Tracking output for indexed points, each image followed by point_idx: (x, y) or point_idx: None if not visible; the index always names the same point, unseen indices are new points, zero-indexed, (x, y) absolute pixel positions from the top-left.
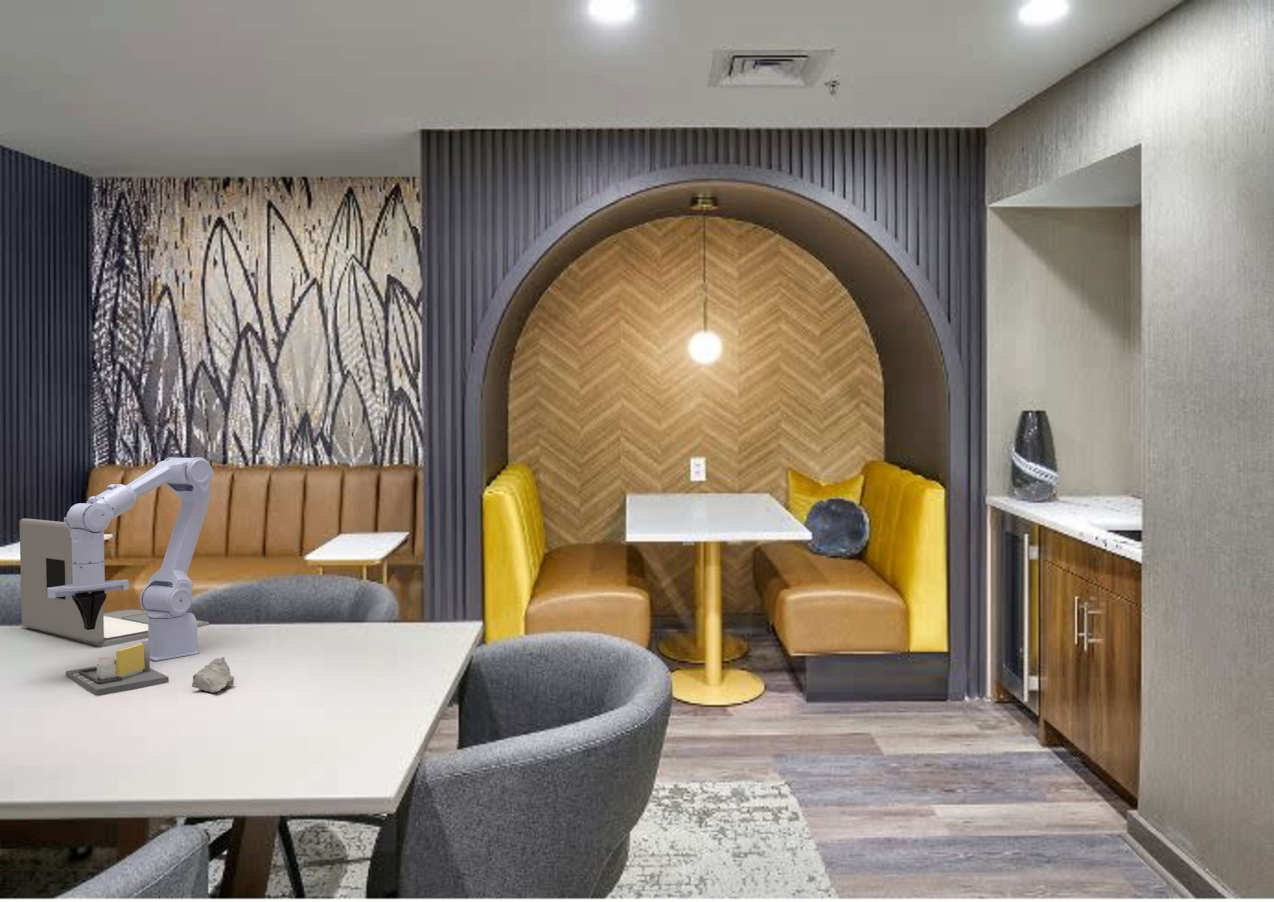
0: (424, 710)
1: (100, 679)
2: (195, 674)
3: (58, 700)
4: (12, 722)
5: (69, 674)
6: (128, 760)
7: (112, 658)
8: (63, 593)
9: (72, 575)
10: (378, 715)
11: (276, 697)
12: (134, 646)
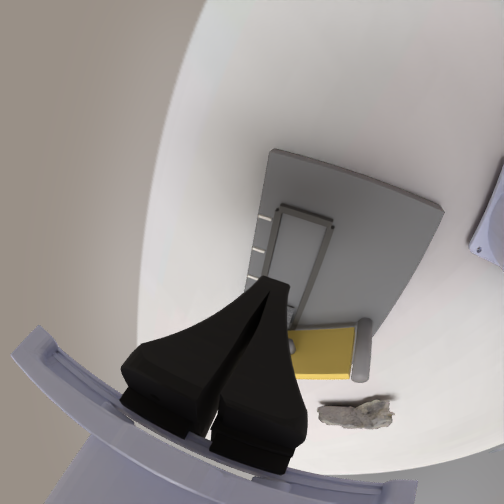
0: (344, 473)
1: None
2: (321, 420)
3: (193, 297)
4: (139, 317)
5: (264, 185)
6: None
7: None
8: (81, 385)
9: (63, 477)
10: (325, 467)
11: (338, 441)
12: (319, 378)
